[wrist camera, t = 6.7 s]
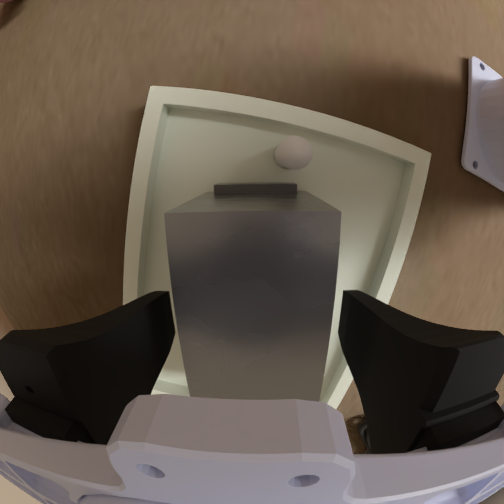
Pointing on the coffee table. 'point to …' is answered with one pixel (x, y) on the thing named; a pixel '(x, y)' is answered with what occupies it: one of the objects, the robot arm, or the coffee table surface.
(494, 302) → the coffee table surface
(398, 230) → the pin tray
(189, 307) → the block
